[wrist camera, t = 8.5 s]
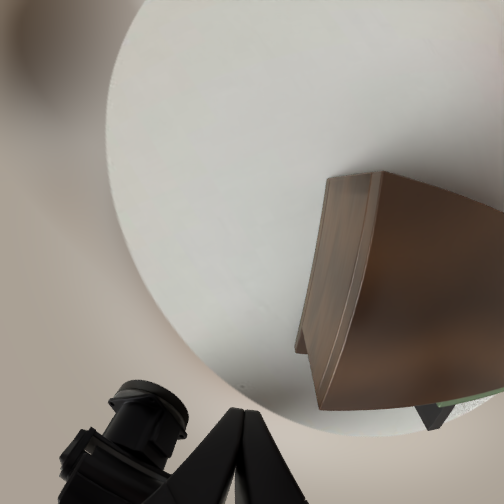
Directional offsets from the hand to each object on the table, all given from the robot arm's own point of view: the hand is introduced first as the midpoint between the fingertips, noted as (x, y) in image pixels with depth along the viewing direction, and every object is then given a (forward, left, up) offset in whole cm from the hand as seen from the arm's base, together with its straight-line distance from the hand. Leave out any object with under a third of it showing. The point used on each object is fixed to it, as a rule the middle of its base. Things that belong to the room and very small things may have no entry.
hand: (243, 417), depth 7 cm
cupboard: (+11, -5, -12) cm, 17 cm away
